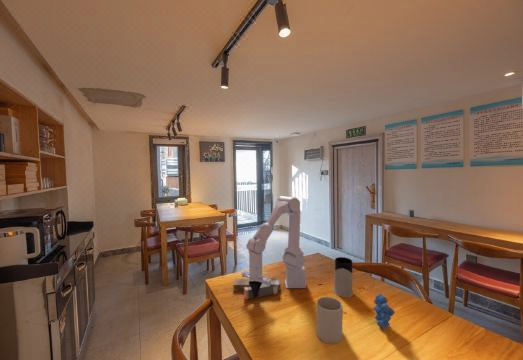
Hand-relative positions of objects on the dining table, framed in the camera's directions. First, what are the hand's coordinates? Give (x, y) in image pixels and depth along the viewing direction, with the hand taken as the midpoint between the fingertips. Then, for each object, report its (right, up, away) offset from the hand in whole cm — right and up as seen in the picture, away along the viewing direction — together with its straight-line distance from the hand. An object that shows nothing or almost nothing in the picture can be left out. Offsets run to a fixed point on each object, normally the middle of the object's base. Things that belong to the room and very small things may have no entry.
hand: (255, 296), depth 101 cm
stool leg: (+2, -1, +4) cm, 5 cm away
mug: (+26, -2, -20) cm, 33 cm away
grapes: (+46, -2, -18) cm, 50 cm away
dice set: (+33, -3, -8) cm, 34 cm away
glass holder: (+41, -1, +9) cm, 42 cm away
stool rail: (0, -1, +9) cm, 9 cm away
